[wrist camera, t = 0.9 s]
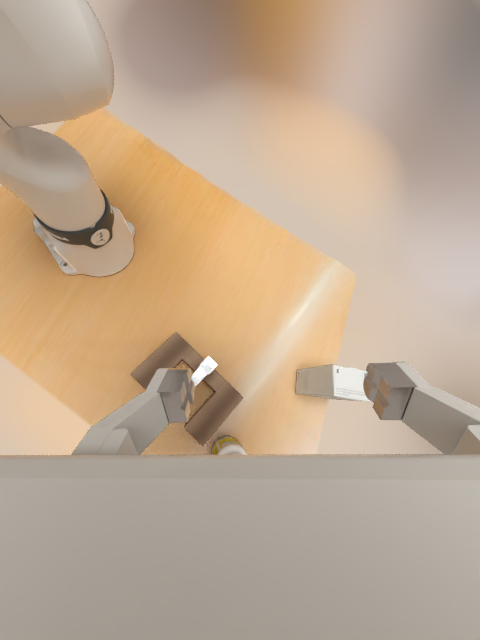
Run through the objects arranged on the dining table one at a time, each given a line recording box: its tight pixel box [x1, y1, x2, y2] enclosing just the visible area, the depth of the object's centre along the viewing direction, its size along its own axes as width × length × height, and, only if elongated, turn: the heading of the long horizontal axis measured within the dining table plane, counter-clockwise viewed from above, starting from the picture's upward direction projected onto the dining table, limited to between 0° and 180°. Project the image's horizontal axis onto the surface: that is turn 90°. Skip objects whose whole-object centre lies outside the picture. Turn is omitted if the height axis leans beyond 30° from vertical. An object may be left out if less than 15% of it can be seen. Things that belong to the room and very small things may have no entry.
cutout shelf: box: [131, 332, 243, 446], centre depth 48 cm, size 20×12×3 cm, turn 47°
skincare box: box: [296, 364, 372, 402], centre depth 48 cm, size 8×6×15 cm
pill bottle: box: [211, 436, 247, 455], centre depth 42 cm, size 6×6×11 cm
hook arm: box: [191, 356, 218, 387], centre depth 41 cm, size 2×12×17 cm, turn 137°
